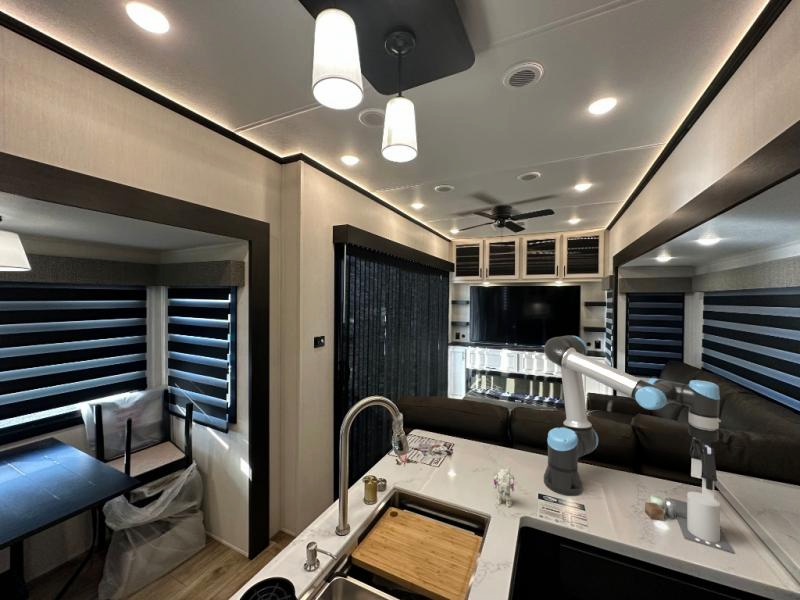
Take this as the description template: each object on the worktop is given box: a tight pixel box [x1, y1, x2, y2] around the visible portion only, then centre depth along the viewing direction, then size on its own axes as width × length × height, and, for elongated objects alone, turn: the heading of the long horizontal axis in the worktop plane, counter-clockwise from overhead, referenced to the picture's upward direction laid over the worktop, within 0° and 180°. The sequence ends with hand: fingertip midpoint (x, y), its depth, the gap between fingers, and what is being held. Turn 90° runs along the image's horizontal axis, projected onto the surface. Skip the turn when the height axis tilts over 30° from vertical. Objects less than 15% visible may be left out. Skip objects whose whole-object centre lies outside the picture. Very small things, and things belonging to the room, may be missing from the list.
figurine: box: [493, 465, 515, 508], centre depth 124 cm, size 8×8×15 cm
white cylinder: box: [686, 491, 721, 542], centre depth 108 cm, size 8×8×12 cm
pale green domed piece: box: [650, 495, 665, 510], centre depth 123 cm, size 4×4×3 cm
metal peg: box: [664, 497, 676, 520], centre depth 117 cm, size 3×3×6 cm
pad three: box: [676, 516, 735, 554], centre depth 108 cm, size 12×12×1 cm
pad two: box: [669, 497, 687, 519], centre depth 119 cm, size 12×12×1 cm
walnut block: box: [644, 501, 665, 522], centre depth 117 cm, size 4×4×4 cm
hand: (701, 486), depth 108 cm, fingers open, 13 cm apart
